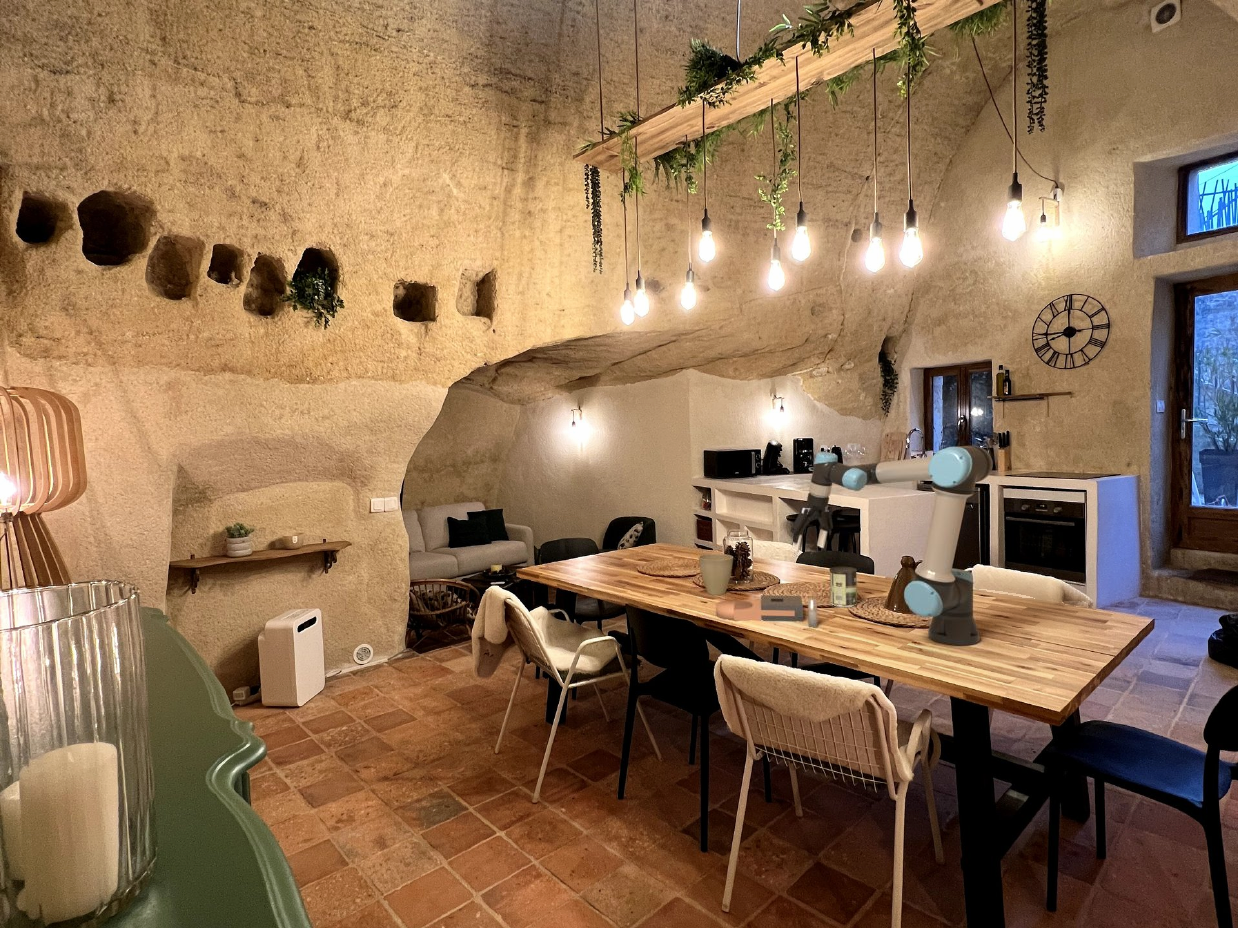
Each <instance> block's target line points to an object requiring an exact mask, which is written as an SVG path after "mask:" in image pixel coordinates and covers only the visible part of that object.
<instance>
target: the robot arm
mask: <svg viewBox="0 0 1238 928" xmlns="http://www.w3.org/2000/svg"><path fill="white" fill-rule="evenodd" d="M993 464H994V463H993V459H992V455H991V454H990V453H989V452H988V451H987V450H986V449H984V448H982V447H980V446H977V445H963V446H949V447H945V448H942V449H940V450H939V451H937V452H935V453H934V454H933V455H932V456H925V457H918V458H916V457H915V458H909V459H908V458H907V459H901V460H891V461H882V462H871V463H866V464H856V465H855V464H854V465H847V464H844V463H841V462H838V455H837V454H835V453H833V452H826V451H819V452H817V453H816V455H815V458H814V462H813V467H812V475H811V479H810V483H809V484H810V485H809V489H808V491H809V493H807V499H806V503H807V507H806V508H805V507H803V506H802V507H800V510H799V513H798V515H797V517H796V519H795V521H794V522H793V524H792V526H791V528H790V530H789V531H790V532H791V533H793V537H792V548H791V550H792V551H794V552H795V553H799V552H800V547H801V543H802V537H803V535H802V533H803V531H804V530H805V529H806V527H808V525H809V524H810V523H811V522H812V521H814V520H818V522H819V524H820V527H821V529H820V530H819V534H818V538H817V544H816V545H817V547H819V548H822V549H825V545H826V540H827V538H828V533H830V532H832V530H833V528H834V526H833V519H832V506H830V505H829V502H830V496H831V493H832V487H833V484H835V485H838V486H839V487H842V488H845V489H847V490H851V491H854V492H859V491H861V490H863V489H864V488H865V486H871V485H872V486H873V485H881V484H891V483H893V484H894V483H895V484H896V483H902V482H903V483H906V482H916V481H917V482H918V481H926V480H927V481H929V480H931V481H932V482H931V488H932V490H933V492H934V493H935V496H934V499H933V506H932V510H931V511H932V512H931V514H930V515H931V517H930V522H929V525H928V531H927V535H926V541H925V547H924V551H923V555H922V561H921V565H919V566H918V567H917V568H915V570H914V574H913V580H912V581H911V582H909V583H908V584H907V585H906V587H905V589H904V592H903V597H904V601H905V604H906V605H907V606H908V608H909V610H910V611H911V612H912V613H914V614H915V615H917V616H919V617H922V618H931V622H930V624H929V626H928V630H927V631H928V635H927V636H928V638H929V639H930V640H931V641H934V642H937V643H940V644H945V645H951V646H954V645H955V646H972V645H976V644H979V642H980V632H979V629H978V626H977V623H976V621H975V618H974V583H975V582H974V579H973V578H974V577H973V573H971V571H969V570H964V569H958V568H953V564H954V559H955V556H956V555H955V554H956V550H957V546H958V540H959V535H960V531H961V526H962V521H963V517H964V511H965V507H966V502H967V499H968V498H970V497H971V496H973V495H974V490H975V487H976V484H977V483H979V482H982V481H984V480H985V479H986V478H988V476H990V474H991V472H992V470H993V466H994V465H993Z"/></svg>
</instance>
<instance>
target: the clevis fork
mask: <svg viewBox="0 0 1238 928" xmlns="http://www.w3.org/2000/svg"><path fill="white" fill-rule="evenodd" d="M760 600H761V610H784V611H795V616H766V615H761V620H763V621H765V622H797V621H799V622H800V623H801V622H802V623H803V622H804V606H803V599H802V595H765V594H764V595H760ZM763 621H762V622H763Z"/></svg>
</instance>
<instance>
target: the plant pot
mask: <svg viewBox="0 0 1238 928" xmlns="http://www.w3.org/2000/svg"><path fill="white" fill-rule="evenodd" d="M733 563H734V556H732V555H730V554H725V553H708V554H707V553H706V554H701V555H699V556H698V564H699V568H700V573H701V577H702V581H703V584H704V587H705V589H706V592H707V594H708V595H711V596H722V595H725V594H726V591H727V589H728V584H729V582H730V579H731V573H732V569H733Z"/></svg>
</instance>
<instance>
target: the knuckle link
mask: <svg viewBox="0 0 1238 928" xmlns="http://www.w3.org/2000/svg"><path fill="white" fill-rule="evenodd" d="M715 613H716V615H715V616H716V617H717V618H719V619H723V620H726V619H728V620H727V621H750V620H757V621H756V622H759V621H760V622H762V621H761V615H766V616H795V611H784V610H761V599H760V600H758V599H757V600H754V599H751V600H749V599H748V600H747V599H727V600H722V601H718V602H717V603H716V604H715ZM758 620H759V621H758Z"/></svg>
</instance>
